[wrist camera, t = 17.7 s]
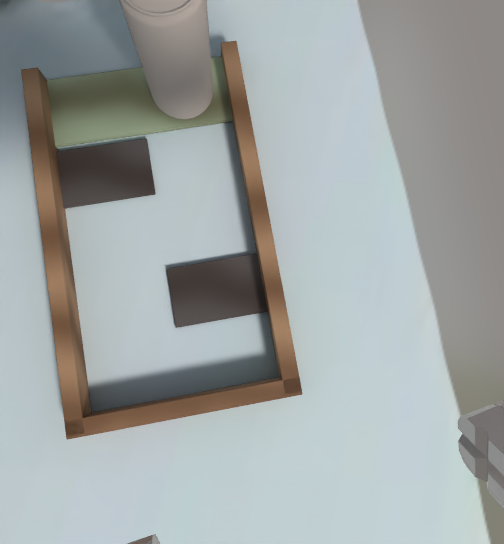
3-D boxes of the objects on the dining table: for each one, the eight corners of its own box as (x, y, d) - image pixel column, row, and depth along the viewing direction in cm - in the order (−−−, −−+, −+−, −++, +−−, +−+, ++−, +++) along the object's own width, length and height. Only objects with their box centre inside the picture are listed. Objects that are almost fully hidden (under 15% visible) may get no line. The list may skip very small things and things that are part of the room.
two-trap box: (298, 390, 33) (302, 394, 31) (77, 432, 32) (66, 439, 30) (236, 56, 36) (236, 40, 34) (33, 84, 35) (21, 69, 33)
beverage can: (216, 120, 35) (208, 14, 23) (155, 125, 35) (115, 19, 23) (210, 64, 36) (200, -68, 24) (150, 68, 36) (110, -63, 24)
